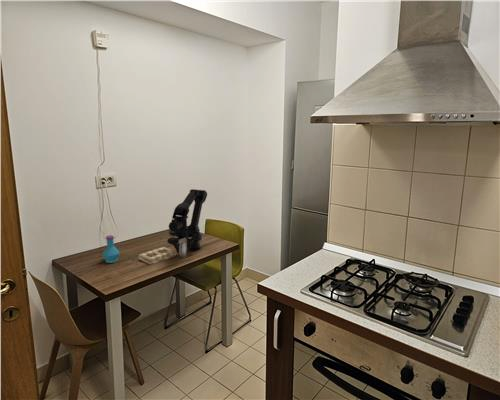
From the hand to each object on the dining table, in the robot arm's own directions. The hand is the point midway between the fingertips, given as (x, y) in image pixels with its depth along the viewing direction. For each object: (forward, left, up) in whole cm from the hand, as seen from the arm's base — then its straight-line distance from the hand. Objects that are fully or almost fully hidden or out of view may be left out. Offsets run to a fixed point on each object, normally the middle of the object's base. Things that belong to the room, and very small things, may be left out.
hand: (183, 251), depth 210 cm
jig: (+12, -10, -3) cm, 16 cm away
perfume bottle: (+32, -27, -3) cm, 42 cm away
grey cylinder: (0, 0, -3) cm, 3 cm away
